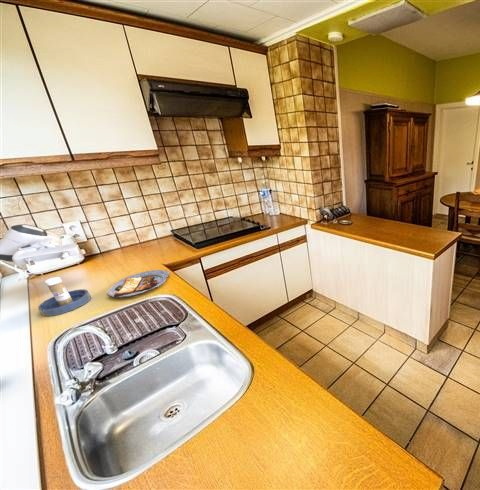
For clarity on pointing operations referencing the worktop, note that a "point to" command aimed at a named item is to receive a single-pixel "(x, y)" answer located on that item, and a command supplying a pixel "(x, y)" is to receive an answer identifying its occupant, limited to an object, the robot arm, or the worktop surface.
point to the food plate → (138, 283)
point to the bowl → (54, 308)
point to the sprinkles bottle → (59, 291)
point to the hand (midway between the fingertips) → (47, 260)
